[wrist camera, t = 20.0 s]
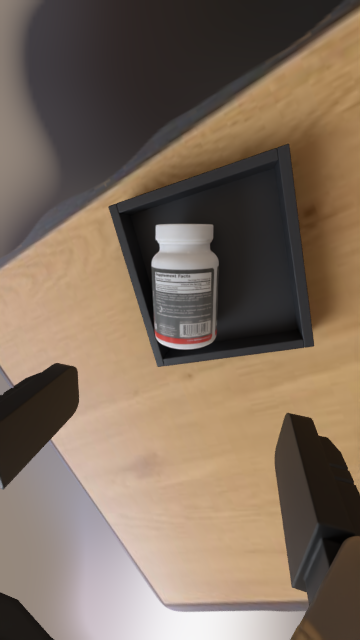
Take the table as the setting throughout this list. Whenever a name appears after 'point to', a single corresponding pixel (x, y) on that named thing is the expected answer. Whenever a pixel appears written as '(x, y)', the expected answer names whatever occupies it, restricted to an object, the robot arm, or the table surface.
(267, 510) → the table surface
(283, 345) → the tray
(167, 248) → the pill bottle
